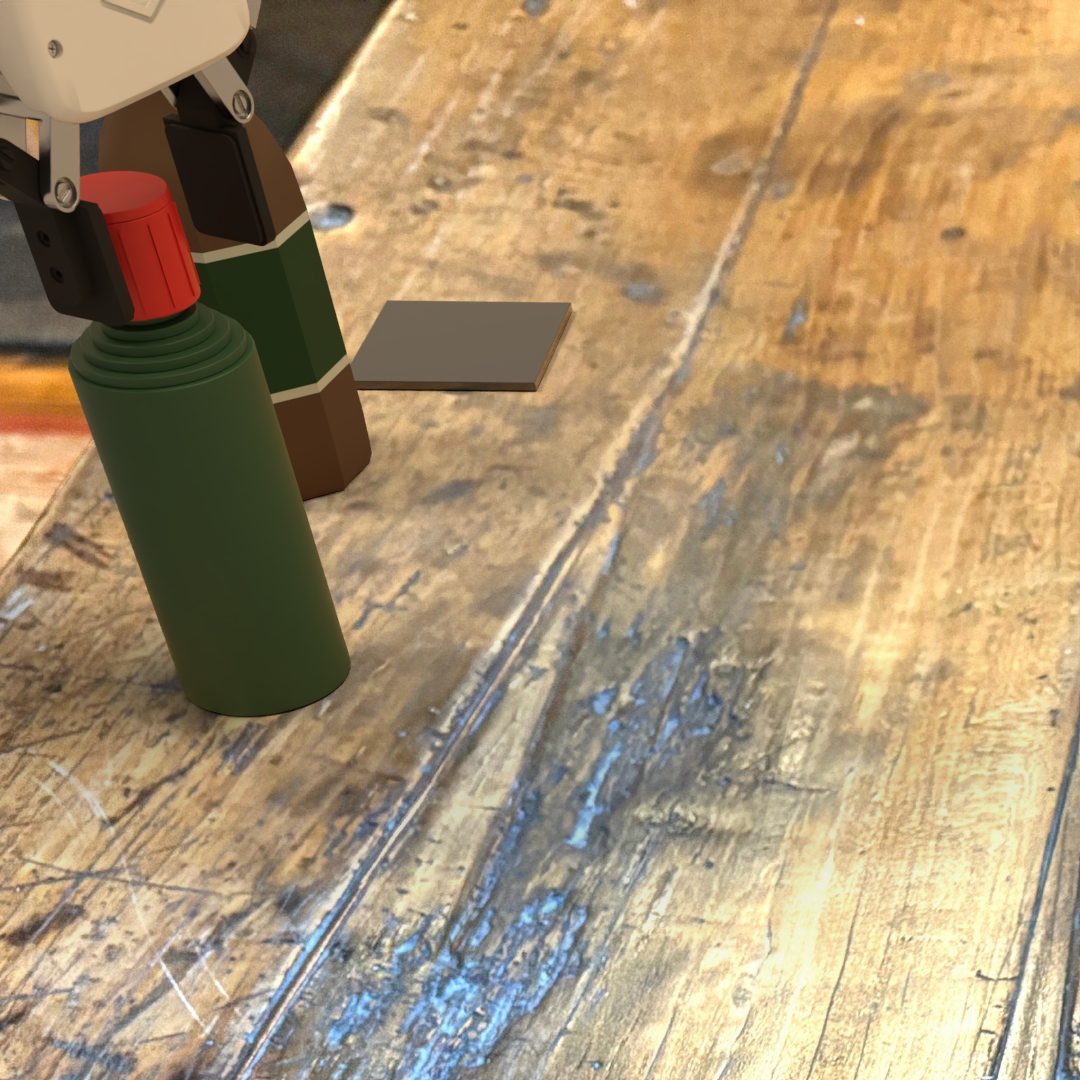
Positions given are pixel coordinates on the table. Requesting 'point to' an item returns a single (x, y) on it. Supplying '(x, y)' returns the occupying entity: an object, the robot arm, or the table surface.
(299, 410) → the beer bottle
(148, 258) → the cap
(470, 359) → the coaster
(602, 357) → the table surface
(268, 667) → the bottle
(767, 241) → the table surface
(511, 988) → the table surface
